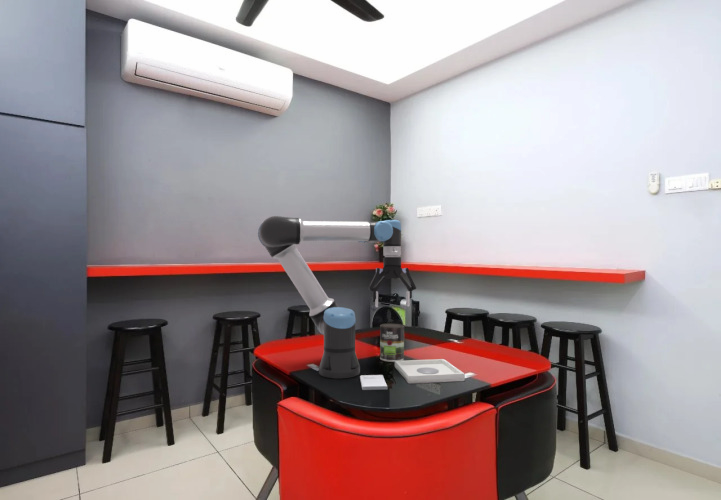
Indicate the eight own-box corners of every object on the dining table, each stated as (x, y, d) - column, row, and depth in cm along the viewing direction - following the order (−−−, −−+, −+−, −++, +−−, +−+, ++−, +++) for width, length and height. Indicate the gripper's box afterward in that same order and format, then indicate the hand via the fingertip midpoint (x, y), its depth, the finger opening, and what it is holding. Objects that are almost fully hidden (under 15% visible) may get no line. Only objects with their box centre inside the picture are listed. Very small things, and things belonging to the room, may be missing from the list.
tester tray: (408, 383, 134) (408, 376, 134) (394, 367, 153) (394, 360, 153) (464, 380, 137) (464, 373, 137) (443, 365, 156) (443, 359, 156)
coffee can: (401, 362, 160) (401, 328, 160) (377, 360, 163) (377, 326, 163) (406, 356, 170) (406, 324, 170) (383, 355, 173) (383, 322, 173)
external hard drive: (362, 391, 127) (359, 379, 140) (387, 391, 128) (382, 379, 140) (362, 386, 127) (359, 374, 140) (387, 386, 128) (382, 374, 140)
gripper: (364, 256, 162) (364, 308, 161) (423, 256, 166) (423, 307, 165) (361, 256, 169) (361, 306, 169) (418, 256, 173) (418, 305, 173)
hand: (392, 306), depth 167 cm, fingers open, 13 cm apart
